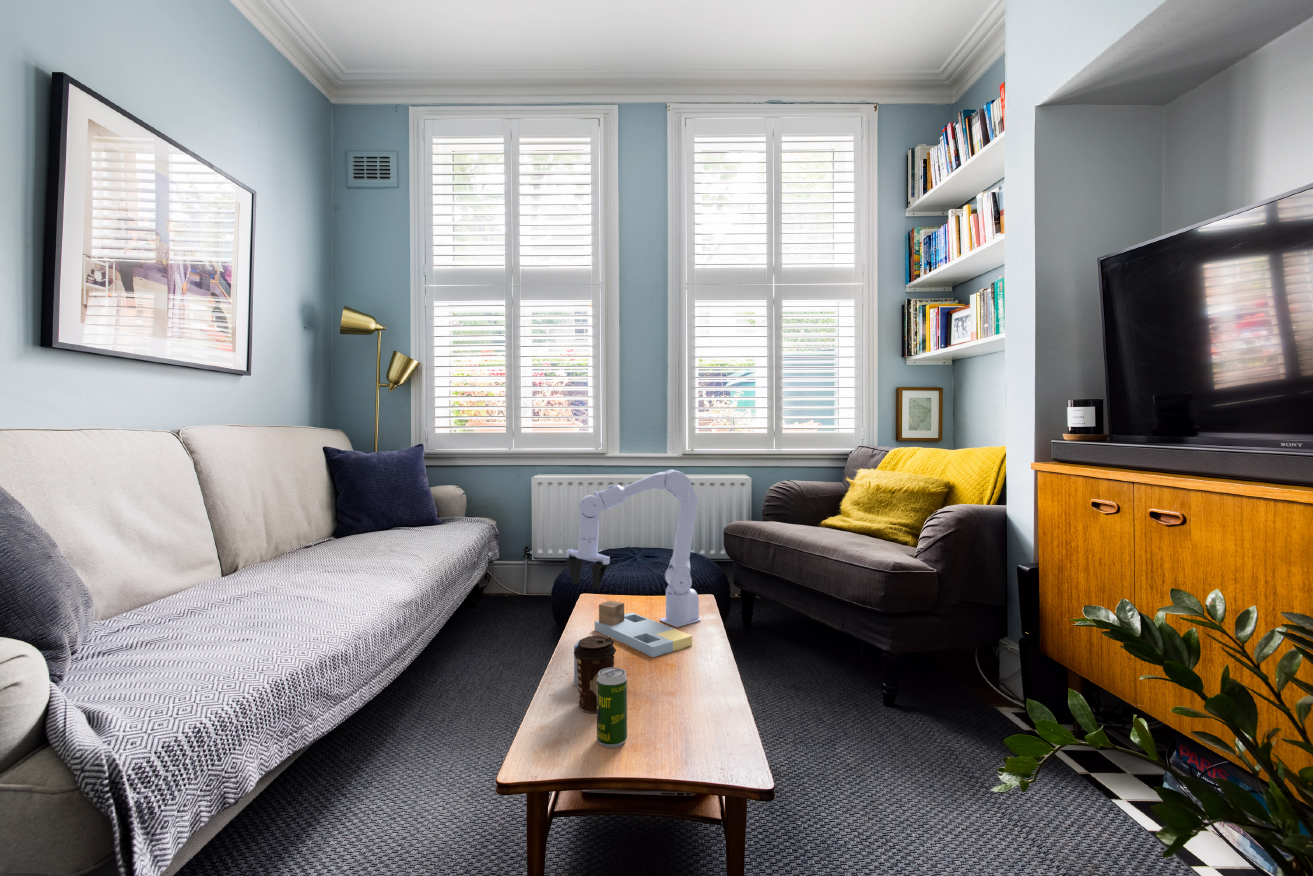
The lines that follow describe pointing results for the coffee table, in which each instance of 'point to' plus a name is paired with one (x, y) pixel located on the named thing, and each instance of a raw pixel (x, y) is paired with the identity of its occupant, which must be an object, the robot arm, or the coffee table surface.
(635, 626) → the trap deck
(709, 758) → the coffee table surface
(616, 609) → the walnut cube
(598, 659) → the coffee cup
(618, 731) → the green drink can
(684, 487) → the robot arm
